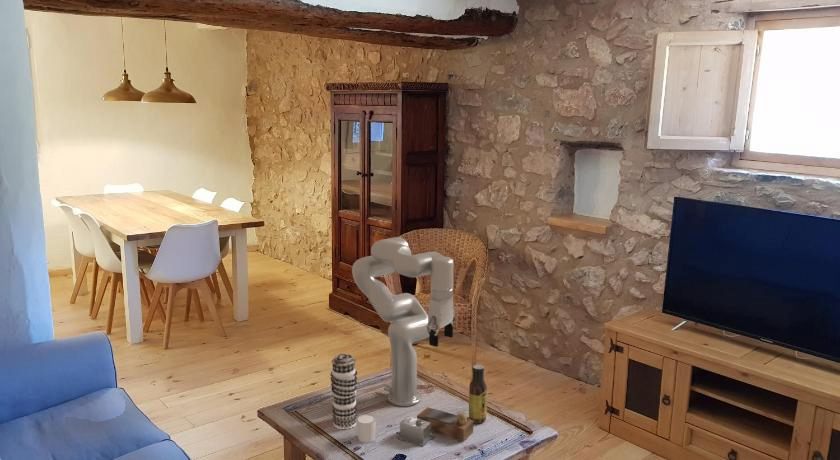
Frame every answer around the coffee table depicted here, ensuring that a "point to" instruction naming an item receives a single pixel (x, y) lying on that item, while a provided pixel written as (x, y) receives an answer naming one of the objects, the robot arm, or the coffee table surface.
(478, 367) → the sauce bottle
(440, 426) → the hand plane
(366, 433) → the white cylinder
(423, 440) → the grey box with knob
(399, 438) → the rubber mat
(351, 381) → the model tower building
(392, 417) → the coffee table surface
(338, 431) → the coffee table surface
